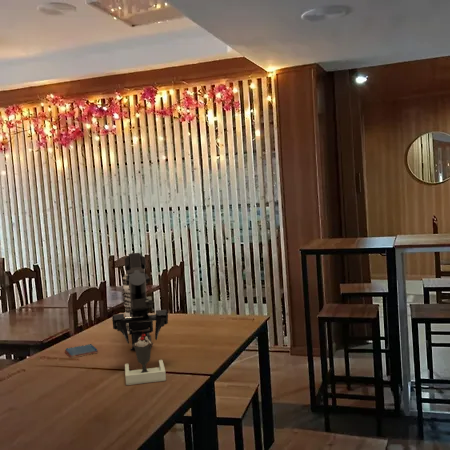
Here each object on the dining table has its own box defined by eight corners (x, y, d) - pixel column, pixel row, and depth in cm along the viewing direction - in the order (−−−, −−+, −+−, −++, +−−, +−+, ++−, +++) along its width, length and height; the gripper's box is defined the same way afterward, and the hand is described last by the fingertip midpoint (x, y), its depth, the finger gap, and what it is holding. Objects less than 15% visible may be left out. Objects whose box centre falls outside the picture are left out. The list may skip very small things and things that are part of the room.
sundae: (145, 379, 180) (142, 332, 179) (130, 376, 184) (127, 330, 182) (159, 373, 185) (156, 327, 184) (144, 370, 189) (141, 325, 188)
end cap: (125, 372, 189) (124, 364, 189) (162, 368, 191) (162, 359, 191) (126, 385, 177) (125, 375, 177) (166, 380, 179) (165, 371, 179)
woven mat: (64, 353, 218) (63, 348, 218) (91, 348, 223) (91, 343, 223) (70, 360, 209) (69, 354, 209) (98, 354, 214) (98, 349, 214)
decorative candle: (150, 329, 246) (146, 271, 245) (138, 334, 238) (134, 275, 236) (133, 328, 250) (129, 271, 249) (120, 333, 242) (116, 275, 240)
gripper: (110, 291, 192) (112, 331, 182) (165, 286, 196) (170, 325, 186) (112, 309, 201) (114, 348, 191) (165, 304, 204) (170, 342, 194)
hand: (142, 341), depth 190 cm, fingers open, 9 cm apart
